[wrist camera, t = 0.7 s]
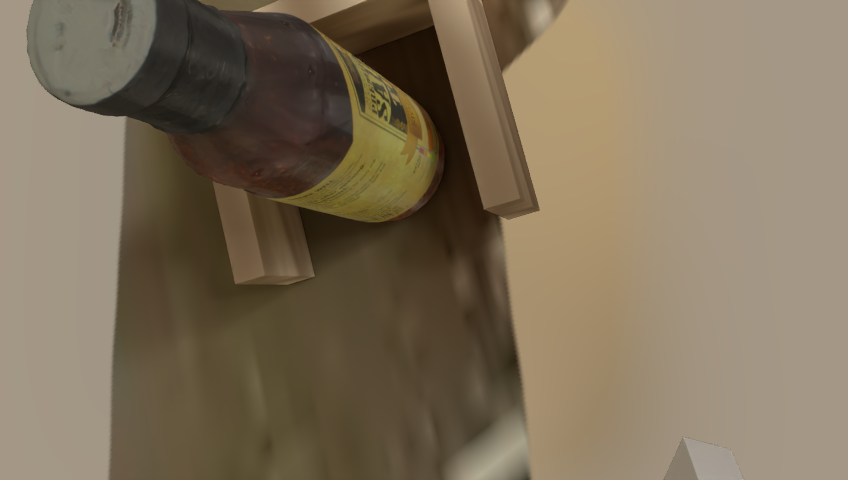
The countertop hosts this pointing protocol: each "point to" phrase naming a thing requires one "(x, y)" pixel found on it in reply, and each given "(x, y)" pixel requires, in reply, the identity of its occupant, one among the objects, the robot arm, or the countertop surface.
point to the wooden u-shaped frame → (476, 104)
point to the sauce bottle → (245, 100)
